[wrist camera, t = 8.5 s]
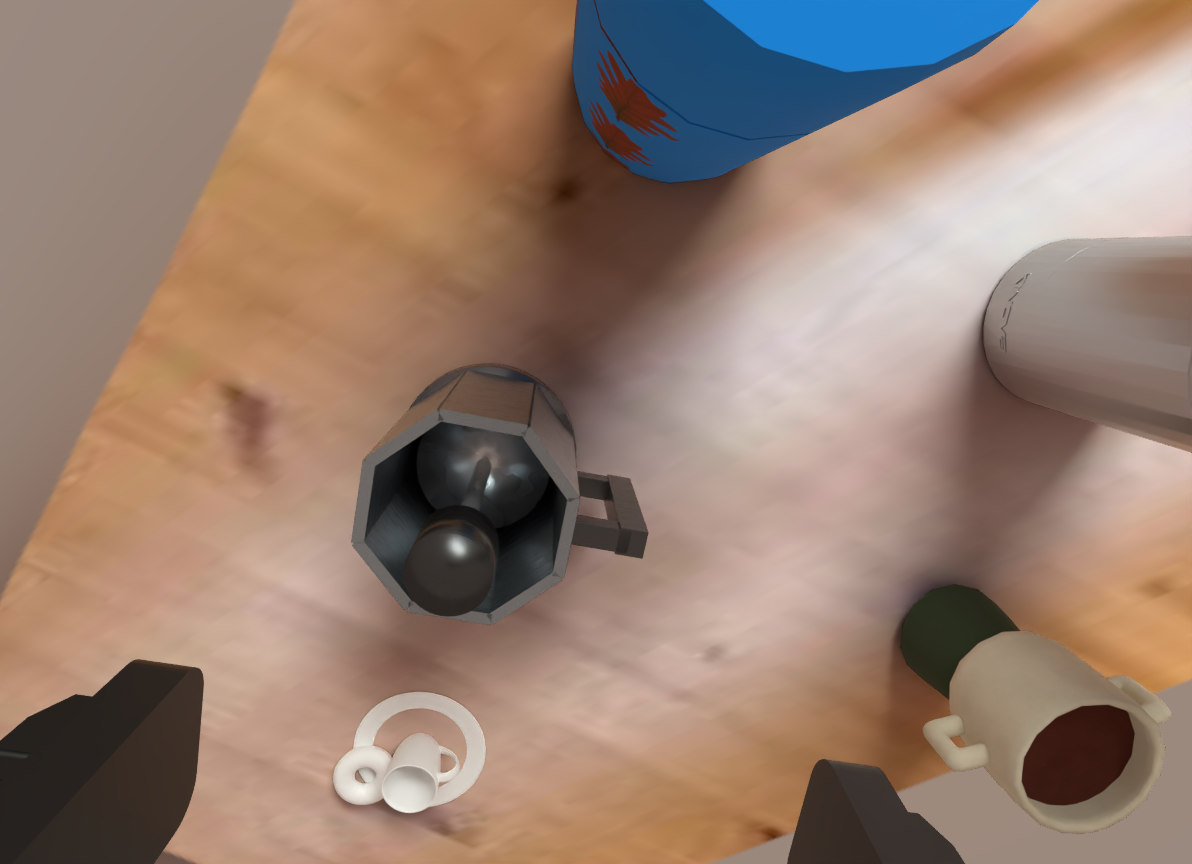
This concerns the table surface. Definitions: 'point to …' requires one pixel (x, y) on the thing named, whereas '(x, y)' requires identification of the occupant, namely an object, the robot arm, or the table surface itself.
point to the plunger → (467, 512)
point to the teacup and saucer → (409, 759)
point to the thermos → (755, 70)
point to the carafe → (525, 546)
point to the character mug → (1034, 714)
